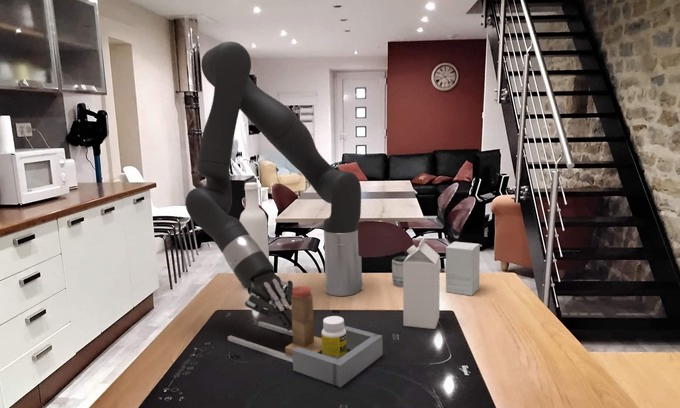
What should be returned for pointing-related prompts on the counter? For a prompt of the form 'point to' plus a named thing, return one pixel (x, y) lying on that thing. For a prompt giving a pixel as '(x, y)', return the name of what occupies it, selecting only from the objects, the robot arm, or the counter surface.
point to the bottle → (255, 218)
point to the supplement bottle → (334, 337)
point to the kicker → (303, 322)
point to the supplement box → (462, 268)
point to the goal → (344, 368)
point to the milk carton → (421, 287)
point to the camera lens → (398, 270)
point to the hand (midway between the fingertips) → (293, 327)
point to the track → (262, 348)
